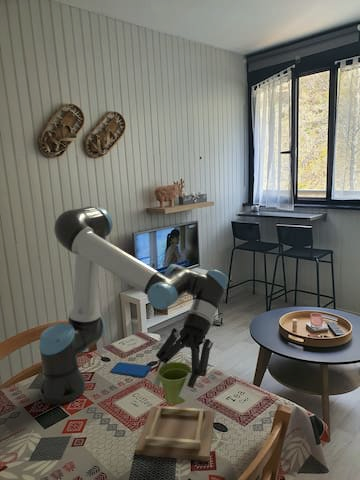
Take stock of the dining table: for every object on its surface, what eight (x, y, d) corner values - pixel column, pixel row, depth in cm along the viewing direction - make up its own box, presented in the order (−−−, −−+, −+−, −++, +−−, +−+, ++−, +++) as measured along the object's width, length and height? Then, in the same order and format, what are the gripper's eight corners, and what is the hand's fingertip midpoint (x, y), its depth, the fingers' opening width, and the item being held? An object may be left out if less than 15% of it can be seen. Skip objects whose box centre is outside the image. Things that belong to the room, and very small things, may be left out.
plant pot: (166, 413, 95) (164, 383, 94) (154, 394, 104) (153, 366, 102) (198, 402, 99) (196, 374, 97) (184, 385, 107) (182, 358, 106)
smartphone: (118, 361, 144) (152, 366, 139) (118, 364, 144) (152, 368, 140) (109, 371, 137) (144, 376, 132) (109, 373, 138) (144, 378, 133)
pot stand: (135, 454, 96) (134, 443, 96) (151, 411, 114) (151, 401, 113) (209, 461, 93) (208, 449, 92) (214, 415, 110) (214, 405, 110)
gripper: (236, 332, 103) (206, 410, 94) (178, 315, 117) (147, 382, 108) (226, 321, 98) (193, 402, 89) (166, 305, 112) (132, 374, 103)
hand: (168, 391), depth 98 cm, fingers closed on plant pot, 9 cm apart
